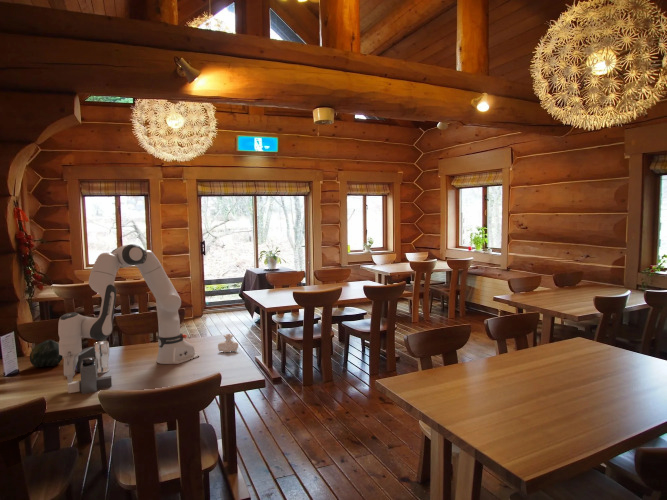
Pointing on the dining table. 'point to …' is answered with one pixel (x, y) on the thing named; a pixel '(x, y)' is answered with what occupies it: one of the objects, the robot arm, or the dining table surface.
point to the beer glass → (102, 356)
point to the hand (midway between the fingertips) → (71, 378)
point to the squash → (45, 354)
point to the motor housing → (88, 375)
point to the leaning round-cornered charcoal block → (84, 356)
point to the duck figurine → (228, 344)
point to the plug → (101, 383)
